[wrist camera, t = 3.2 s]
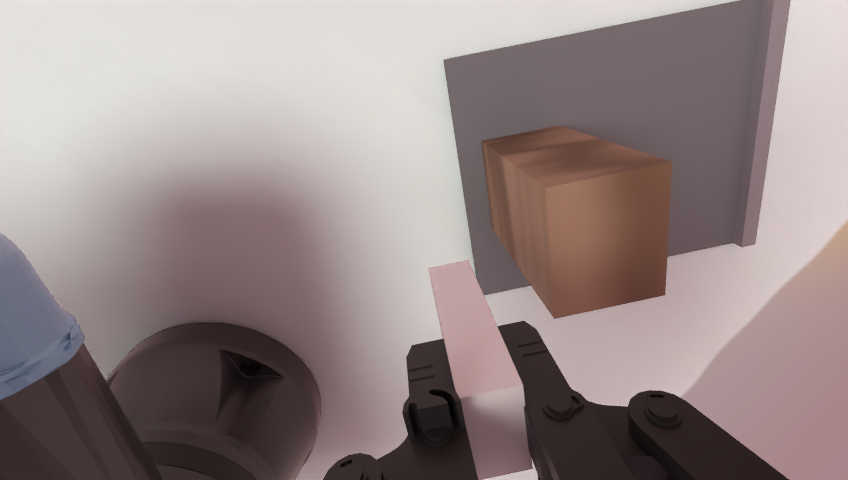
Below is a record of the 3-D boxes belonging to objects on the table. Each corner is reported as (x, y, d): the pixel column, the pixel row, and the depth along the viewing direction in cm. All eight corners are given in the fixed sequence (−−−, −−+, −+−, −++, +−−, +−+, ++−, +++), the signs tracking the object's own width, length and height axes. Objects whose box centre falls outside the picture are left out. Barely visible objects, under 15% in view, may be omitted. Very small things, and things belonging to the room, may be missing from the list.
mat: (478, 293, 31) (482, 301, 30) (443, 59, 24) (446, 59, 23) (741, 237, 31) (755, 244, 30) (773, -7, 25) (791, -10, 24)
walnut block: (492, 228, 28) (554, 318, 18) (481, 141, 26) (545, 187, 16) (563, 214, 28) (664, 295, 18) (559, 125, 26) (672, 161, 16)
